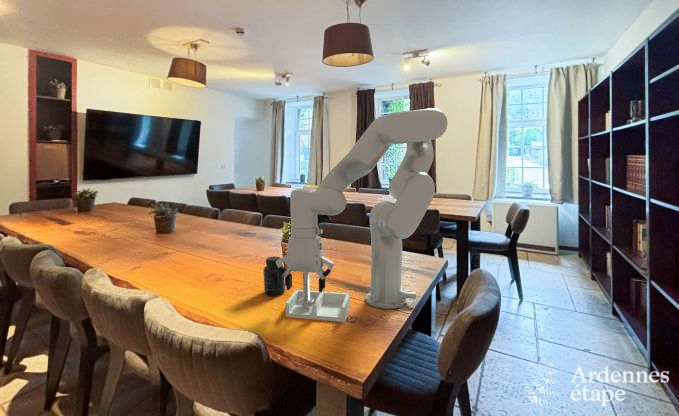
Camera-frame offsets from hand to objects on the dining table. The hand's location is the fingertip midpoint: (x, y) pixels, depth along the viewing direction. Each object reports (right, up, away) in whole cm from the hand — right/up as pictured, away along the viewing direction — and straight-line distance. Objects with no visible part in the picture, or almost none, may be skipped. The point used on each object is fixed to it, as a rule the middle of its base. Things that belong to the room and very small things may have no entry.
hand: (305, 289), depth 98 cm
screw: (0, -6, +1) cm, 6 cm away
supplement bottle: (-12, -5, +15) cm, 19 cm away
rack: (+4, -7, +1) cm, 8 cm away
